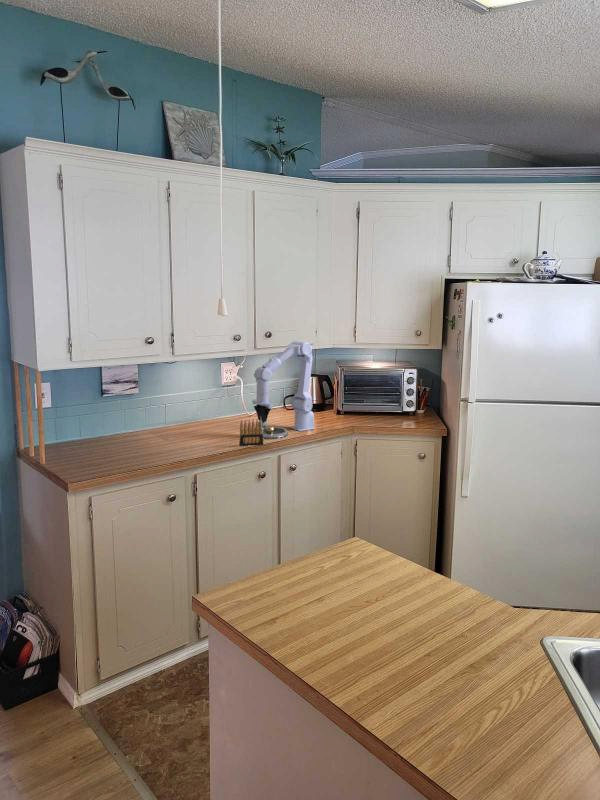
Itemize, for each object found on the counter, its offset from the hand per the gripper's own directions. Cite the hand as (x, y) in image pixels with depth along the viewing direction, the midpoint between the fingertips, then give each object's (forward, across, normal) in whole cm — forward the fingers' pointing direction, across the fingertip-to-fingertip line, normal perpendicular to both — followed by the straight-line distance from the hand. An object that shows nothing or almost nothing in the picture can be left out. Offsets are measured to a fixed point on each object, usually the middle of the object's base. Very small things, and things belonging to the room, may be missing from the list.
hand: (262, 420), depth 311 cm
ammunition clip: (+8, +11, -14) cm, 19 cm away
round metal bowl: (+7, 0, +4) cm, 9 cm away
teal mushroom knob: (+3, 0, 0) cm, 3 cm away
